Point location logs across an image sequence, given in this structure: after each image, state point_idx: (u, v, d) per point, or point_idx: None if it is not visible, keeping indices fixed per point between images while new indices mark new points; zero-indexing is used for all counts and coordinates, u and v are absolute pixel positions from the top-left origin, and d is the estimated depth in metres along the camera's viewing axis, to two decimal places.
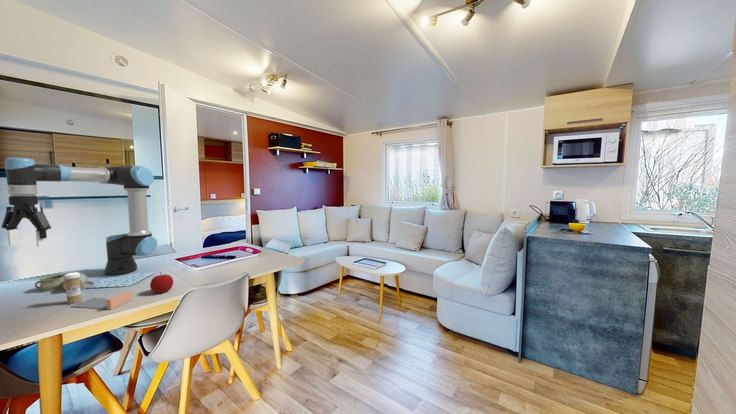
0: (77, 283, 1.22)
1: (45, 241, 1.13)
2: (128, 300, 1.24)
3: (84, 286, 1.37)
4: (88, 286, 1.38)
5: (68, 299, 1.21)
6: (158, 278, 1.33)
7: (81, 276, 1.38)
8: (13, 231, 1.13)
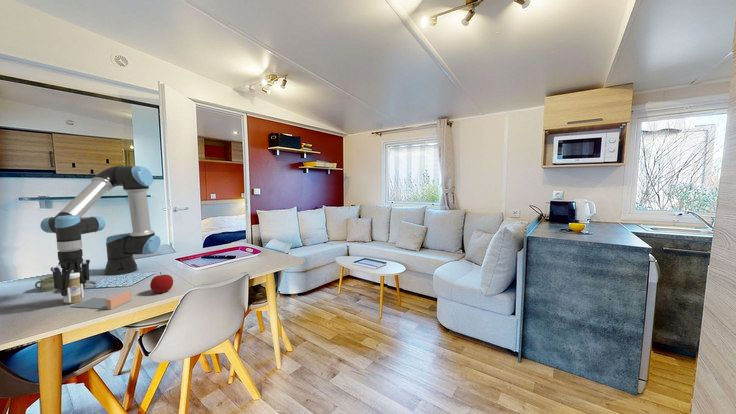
0: (77, 283, 1.22)
1: (68, 298, 1.20)
2: (128, 300, 1.24)
3: (87, 286, 1.38)
4: (91, 286, 1.39)
5: None
6: (158, 278, 1.33)
7: None
8: None
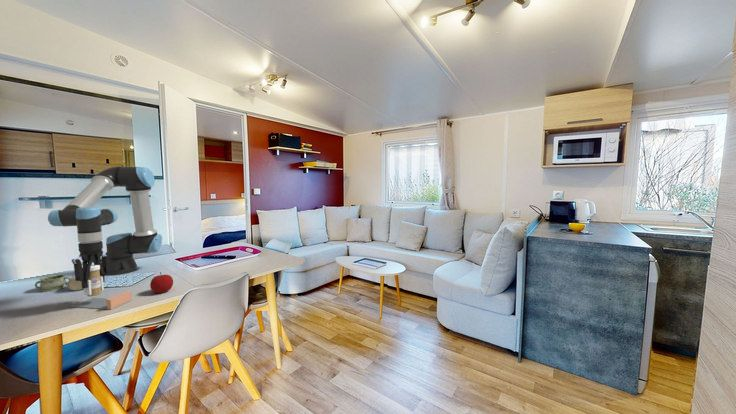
0: (97, 275, 1.21)
1: (88, 291, 1.18)
2: (128, 300, 1.24)
3: None
4: None
5: None
6: (158, 278, 1.33)
7: None
8: None
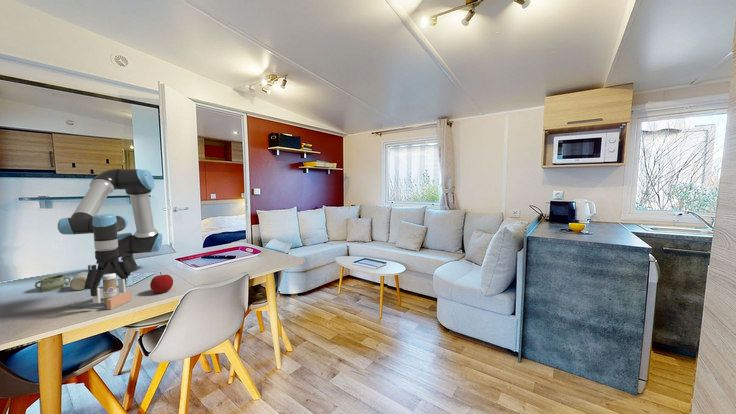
0: (114, 284, 1.21)
1: (97, 299, 1.15)
2: (128, 300, 1.24)
3: None
4: None
5: (105, 300, 1.19)
6: (158, 278, 1.33)
7: None
8: (120, 280, 1.25)
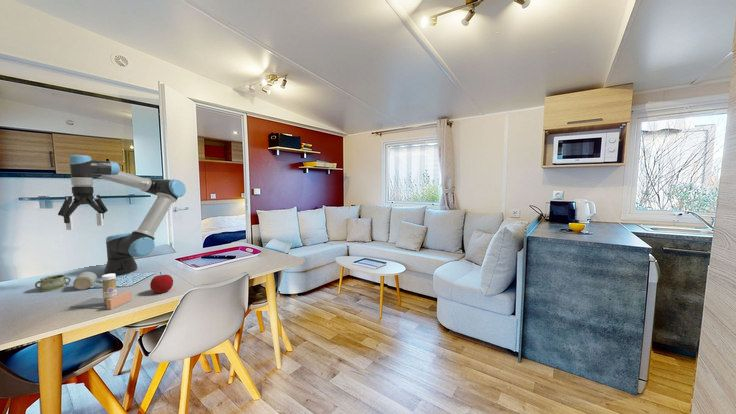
0: (113, 284, 1.21)
1: (70, 226, 1.30)
2: (128, 300, 1.24)
3: (94, 285, 1.39)
4: (98, 285, 1.40)
5: (105, 301, 1.19)
6: (158, 278, 1.33)
7: (91, 275, 1.40)
8: (98, 214, 1.43)
